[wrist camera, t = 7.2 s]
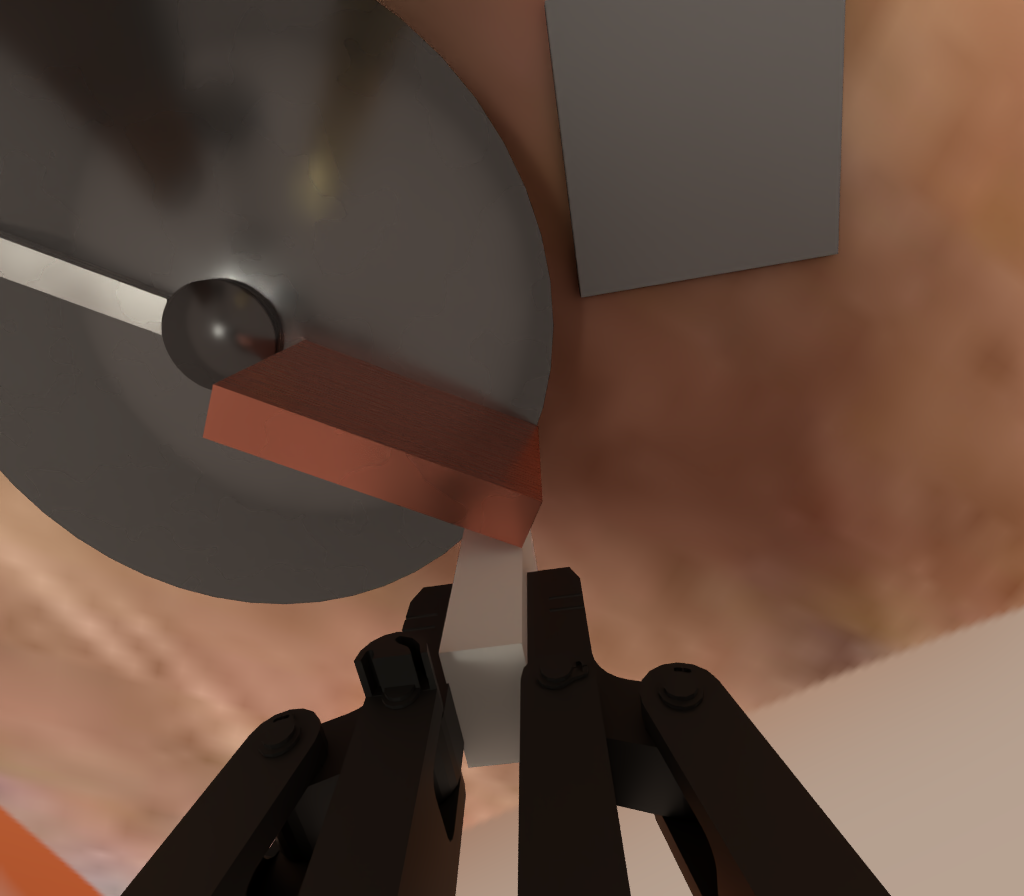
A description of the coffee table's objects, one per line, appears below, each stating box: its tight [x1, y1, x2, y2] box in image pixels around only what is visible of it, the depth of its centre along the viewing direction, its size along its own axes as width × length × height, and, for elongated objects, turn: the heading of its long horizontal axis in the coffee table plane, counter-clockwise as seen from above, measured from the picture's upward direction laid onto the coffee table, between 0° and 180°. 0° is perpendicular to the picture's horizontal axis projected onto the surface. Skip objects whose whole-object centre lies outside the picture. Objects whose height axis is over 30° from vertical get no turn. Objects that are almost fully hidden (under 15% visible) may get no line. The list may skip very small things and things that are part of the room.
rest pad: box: [544, 0, 845, 297], centre depth 17 cm, size 8×8×1 cm
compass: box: [0, 0, 553, 604], centre depth 15 cm, size 18×18×7 cm
